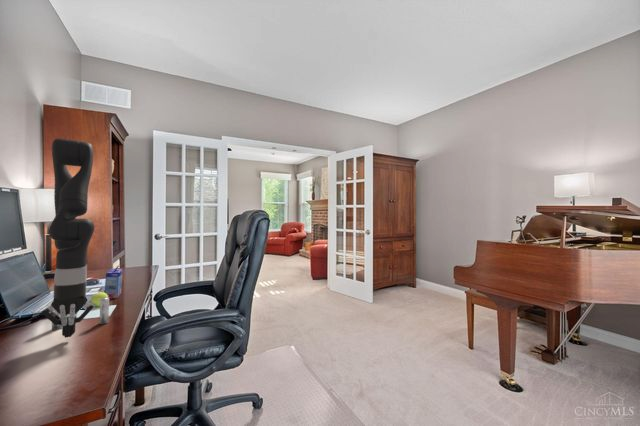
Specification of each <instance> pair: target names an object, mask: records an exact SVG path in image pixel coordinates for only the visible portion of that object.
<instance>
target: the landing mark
mask: <svg viewBox="0 0 640 426" xmlns="http://www.w3.org/2000/svg"><path fill="white" fill-rule="evenodd" d="M116 307H117V304H114V305H113V304H112V305H109V317H111V315H112V313H113V312H114V310H115V309H116ZM84 311H85V310H79V311H78V314H77V318H78V317H80V316H81V314H82V313H83V312H84ZM98 318H99V319H100V307H96V306H94V307H93V309H92V310H91V311H90V312H89V313H88V314H87V315H86V316H85V317H84V318H83V319H82V320H90V319H98Z"/></svg>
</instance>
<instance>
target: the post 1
mask: <svg viewBox="0 0 640 426" xmlns="http://www.w3.org/2000/svg"><path fill="white" fill-rule="evenodd" d="M54 313H56V314H57V315H58V316H59V317H60V314H59V313H58V312H57V311H56V310H55V309H54ZM60 318H61V317H60ZM61 329H62V325H55V324H53V323H52V322H51V331H57V330H58V331H59V330H61Z"/></svg>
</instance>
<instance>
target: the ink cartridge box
mask: <svg viewBox="0 0 640 426" xmlns="http://www.w3.org/2000/svg"><path fill="white" fill-rule="evenodd" d="M119 267H120V265H118V266H116V268H115V269H114V268H113V269H109V270H108V271H107V272H106V273H105V281H104V293H106V294H107V295H108V298H109V299H117V298H118V299H119V296H120V295H121V294H122V285H123V284H122V283H123V270H124V269H122V268H119Z"/></svg>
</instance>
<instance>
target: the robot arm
mask: <svg viewBox="0 0 640 426" xmlns="http://www.w3.org/2000/svg"><path fill="white" fill-rule="evenodd" d="M93 147H94V146H93V145H92V144H91V143H89V142H86V141H81V140H80V141H79V140H77V139H75V140H74V139H67V138H55V139H54V140H53V141H52V145H51V156H52V164H53V173H54V175H53V176H54V192H53V193H54V194H53V197H54V199H53V200H54V213H55V216H54V218H53V219H52V222H51V223H50V226H49V227H48V228H49V229H48V234H49V236H50V238H51V239H52V240H54V247H55V248H56V249H57V252H56V257H55V258H56V259H55V272H54V279H53V283H54V284H53V300H52V302H51V303H50V305H49V306H48V307H46V308H44V309H43V310H42V311H41V314H42V315H43V316H44V317H46V318H47V319H48V321H50V322H51V324H52V323H53V324H55V325H62V328H61V329H62V330H61V335H62V337H64V338H71V337H72V336H73V335H74V334H75V333H76V324H77V323H81V322H82V321H83V320H84V319H83V318H84V317H85V316H86V315H87V314H88V313H89V312H90V311H91V310H92V309H93V307H96V306H95V304H94V303H92V304H91V302H89V301H88V298H87V279H88V278H87V277H88V276H87V274H88V248H89V244H90V242H91V239H92V238H93V237H92V236H93V235H94V232H95V225H94V223H93V221H92V220H91V219H88V218H77V217H82V216H84V215H86V213H87V212H88V194H89V193H88V192H89V185H90V181H91V176H92V170H93V165H94V149H93ZM67 166H69V167H70V166H71V167H80V169H79V170H78V171H77V172H76V173H75V175H74V176H72V174H71V173H70V172H69V170H68V168H67ZM83 307H84V309H85V311H84V312H83V313H82V314H81V316H80V317H78V318H77V314H78V311H79V310H80V309H82V308H83ZM54 309H55V310H56V311H57V312H58V313H59V314H60V317H61V318H60V317H59V316H58V315H57V314H56V313H54Z"/></svg>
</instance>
